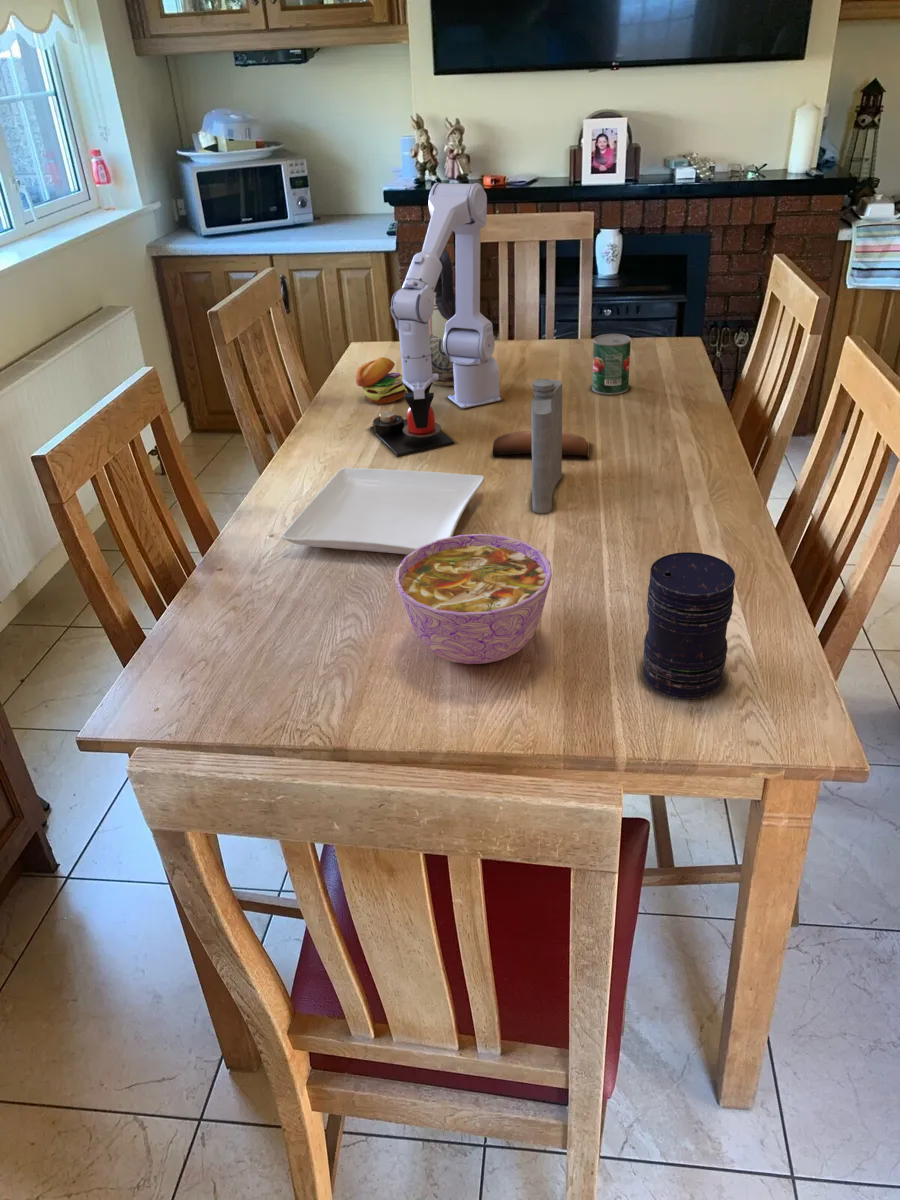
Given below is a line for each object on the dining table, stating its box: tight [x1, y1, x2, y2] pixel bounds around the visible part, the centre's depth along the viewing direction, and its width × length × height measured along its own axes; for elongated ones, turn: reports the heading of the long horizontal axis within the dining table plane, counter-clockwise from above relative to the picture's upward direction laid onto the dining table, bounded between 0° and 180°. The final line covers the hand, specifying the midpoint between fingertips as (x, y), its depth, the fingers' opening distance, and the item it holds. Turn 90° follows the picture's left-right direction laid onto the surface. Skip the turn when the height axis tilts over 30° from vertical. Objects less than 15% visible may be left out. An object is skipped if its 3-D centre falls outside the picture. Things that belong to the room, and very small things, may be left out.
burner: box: [403, 422, 442, 437], centre depth 183 cm, size 8×8×1 cm
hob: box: [369, 414, 455, 457], centre depth 185 cm, size 12×16×3 cm
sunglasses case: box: [492, 430, 590, 458], centre depth 174 cm, size 18×7×7 cm
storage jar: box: [642, 551, 736, 700], centre depth 111 cm, size 10×10×15 cm
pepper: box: [406, 405, 436, 433], centre depth 181 cm, size 5×5×6 cm
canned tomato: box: [591, 333, 632, 396], centre depth 199 cm, size 8×8×11 cm
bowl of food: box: [394, 533, 553, 665], centre depth 120 cm, size 20×20×12 cm
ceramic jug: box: [429, 248, 467, 387], centre depth 204 cm, size 17×15×30 cm
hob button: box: [379, 410, 397, 424], centre depth 186 cm, size 3×3×2 cm
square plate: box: [281, 467, 485, 555], centre depth 153 cm, size 27×27×4 cm
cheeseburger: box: [355, 356, 408, 405], centre depth 203 cm, size 10×11×10 cm
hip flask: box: [530, 378, 563, 514], centre depth 155 cm, size 16×4×20 cm, turn 167°
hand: (421, 421), depth 182 cm, fingers closed on pepper, 5 cm apart
